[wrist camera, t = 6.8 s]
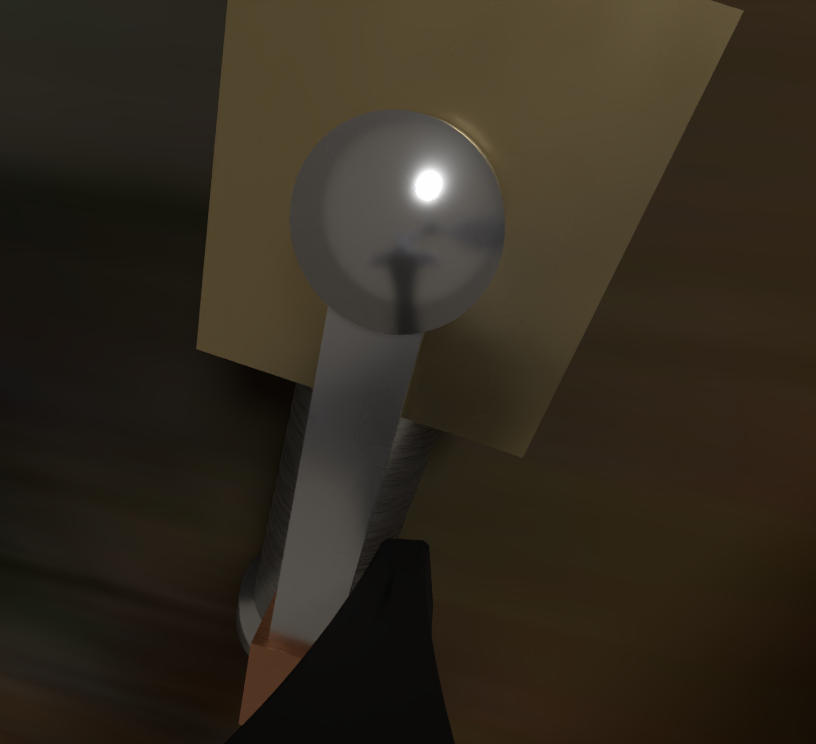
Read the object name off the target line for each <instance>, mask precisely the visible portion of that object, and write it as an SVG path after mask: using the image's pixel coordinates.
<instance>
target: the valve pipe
mask: <svg viewBox="0 0 816 744" xmlns="http://www.w3.org/2000/svg"><path fill="white" fill-rule="evenodd" d="M742 13H743V10H740V9H736V8H733V7H730V6H727V5H724V4H721V3H717V2H714V1H711V0H228V4H227V15H226V26H225V37H224V48H223V60H222V71H221V82H220V93H219V104H218V115H217V126H216V137H215V148H214V160H213V171H212V182H211V193H210V204H209V215H208V226H207V237H206V248H205V259H204V271H203V282H202V293H201V304H200V315H199V326H198V337H197V348H196V349H198V350H201V351H204V352H207V353H210V354H213V355H216V356H219V357H222V358H225V359H228V360H231V361H234V362H237V363H240V364H243V365H246V366H249V367H252V368H255V369H258V370H261V371H264V372H267V373H270V374H273V375H276V376H279V377H282V378H285V379H288V380H291V381H294V382H296V386H295V391H294V396H293V401H292V406H291V411H290V416H289V421H288V425H287V430H286V435H285V440H284V445H283V450H282V455H281V460H280V465H279V470H278V475H277V480H276V484H275V489H274V494H273V499H272V504H271V509H270V514H269V519H268V524H267V529H266V534H265V539H264V543H263V548H262V552H261V553H260V554H258V555H257V556H256V558H255V559H254V560H253V561H252V562H251V564H250V565H249V567H248V568H247V570H246V572H245V574H244V577H243V580H242V583H241V588H240V593H239V599H238V604H237V611H236V626H237V632H238V636H239V639H240V642H241V644H242V646H243V648H244V650H245V651H246V653H247V654H248V656H249V653H250V646H251V642H252V640H253V638H254V636H255V634H256V632H257V630H258V627H259V625H260V623H261V621H262V619H263V617H264V615H265V613H266V611H267V609H268V607H269V605H270V602H271V600H272V598H273V596H274V594H275V592H276V590H277V588H278V583H279V577H280V572H281V566H282V560H283V555H284V549H285V544H286V538H287V533H288V527H289V521H290V516H291V510H292V505H293V499H294V493H295V488H296V482H297V477H298V471H299V466H300V460H301V454H302V449H303V443H304V438H305V432H306V427H307V421H308V415H309V410H310V404H311V399H312V393H313V387H314V382H315V376H316V371H317V365H318V360H319V354H320V348H321V343H322V337H323V332H324V326H325V321H326V315H327V309H328V305H327V304H326V303H325V302H324V301H323V300H322V299H321V298H320V297H319V296H318V295H317V294H316V292H315V291H314V290H313V288H312V287H311V286H310V284H309V283H308V281H307V279H306V277H305V276H304V274H303V272H302V270H301V268H300V266H299V263H298V261H297V258H296V255H295V252H294V249H293V245H292V239H291V234H290V220H289V215H290V202H291V197H292V192H293V188H294V185H295V181H296V178H297V175H298V173H299V171H300V169H301V167H302V165H303V163H304V161H305V160H306V158H307V157H308V155H309V154H310V152H311V151H312V149H313V148H314V147H315V146H316V145H317V144H318V142H319V141H320V140H321V139H322V138H323V137H324V136H326V135H327V134H328V133H329V132H330V131H331V130H333V129H334V128H336V127H337V126H339V125H340V124H342V123H344V122H345V121H347V120H349V119H352V118H354V117H356V116H359V115H362V114H365V113H369V112H373V111H380V110H389V109H392V110H408V111H413V112H418V113H422V114H426V115H429V116H433V117H436V118H438V119H441V120H444V121H446V122H448V123H450V124H452V125H454V126H456V127H458V128H459V129H460V130H462V131H463V132H464V133H466V134H467V135H468V136H470V137H471V138H472V139H473V140H474V141H475V142H476V143H477V144H478V145H479V147H480V148H481V149H482V151H483V152H484V153H485V154H486V156H487V158H488V159H489V161H490V163H491V164H492V166H493V168H494V171H495V173H496V175H497V178H498V181H499V184H500V188H501V192H502V198H503V206H504V215H505V238H504V245H503V251H502V255H501V258H500V262H499V265H498V267H497V270H496V272H495V275H494V277H493V279H492V280H491V282H490V284H489V286H488V287H487V289H486V290H485V292H484V293H483V294H482V296H481V297H480V298H479V299H478V301H477V302H476V303H475V304H474V305H473V306H472V307H471V308H470V309H469V310H467V311H466V312H465V313H463V314H462V315H461V316H460V317H458V318H456V319H455V320H453V321H451V322H450V323H448V324H446V325H444V326H441V327H439V328H437V329H434V330H430V331H427V332H425V333H424V337H423V340H422V344H421V347H420V351H419V354H418V358H417V361H416V365H415V368H414V372H413V375H412V379H411V382H410V386H409V389H408V393H407V396H406V400H405V404H404V407H403V411H402V414H401V418H400V421H399V425H398V428H397V432H396V435H395V439H394V442H393V446H392V449H391V453H390V456H389V460H388V463H387V467H386V471H385V474H384V478H383V481H382V485H381V488H380V492H379V495H378V499H377V502H376V506H375V509H374V513H373V516H372V520H371V523H370V527H369V530H368V534H367V538H366V541H365V545H364V548H363V552H362V555H361V559H360V562H359V566H358V569H357V573H356V576H355V580H354V583H353V587H352V590H353V589H354V587H355V586H356V584H357V583H358V581H359V580H360V578H361V577H362V575H363V574H364V572H365V570H366V569H367V567H368V566H369V564H370V562H371V561H372V559H373V557H374V556H375V554H376V552H377V550H378V549H379V547H380V545H381V543H382V542H383V541H384V540H385V539H387V538H392V539H398V537H399V534H400V532H401V529H402V526H403V524H404V521H405V519H406V516H407V513H408V511H409V508H410V506H411V503H412V500H413V498H414V495H415V492H416V490H417V487H418V485H419V482H420V479H421V477H422V474H423V471H424V469H425V466H426V464H427V461H428V458H429V456H430V453H431V450H432V448H433V445H434V443H435V440H436V437H437V435H438V432H439V430H441V431H444V432H447V433H450V434H453V435H456V436H459V437H462V438H465V439H468V440H471V441H474V442H477V443H480V444H483V445H486V446H489V447H492V448H495V449H498V450H501V451H504V452H507V453H510V454H513V455H516V456H519V457H522V458H523V456H524V454H525V452H526V450H527V448H528V446H529V444H530V442H531V440H532V438H533V436H534V434H535V432H536V430H537V428H538V426H539V424H540V422H541V420H542V418H543V416H544V414H545V412H546V410H547V408H548V406H549V404H550V402H551V400H552V398H553V395H554V393H555V391H556V389H557V387H558V385H559V383H560V381H561V379H562V377H563V375H564V373H565V371H566V369H567V367H568V365H569V363H570V361H571V359H572V357H573V355H574V353H575V351H576V349H577V347H578V345H579V343H580V341H581V339H582V337H583V335H584V333H585V331H586V329H587V327H588V325H589V323H590V321H591V319H592V317H593V315H594V313H595V311H596V308H597V306H598V304H599V302H600V300H601V298H602V296H603V294H604V292H605V290H606V288H607V286H608V284H609V282H610V280H611V278H612V276H613V274H614V272H615V270H616V268H617V266H618V264H619V262H620V260H621V258H622V256H623V254H624V252H625V250H626V248H627V246H628V244H629V242H630V240H631V238H632V236H633V234H634V232H635V230H636V228H637V226H638V224H639V221H640V219H641V217H642V215H643V213H644V211H645V209H646V207H647V205H648V203H649V201H650V199H651V197H652V195H653V193H654V191H655V189H656V187H657V185H658V183H659V181H660V179H661V177H662V175H663V173H664V171H665V169H666V167H667V165H668V163H669V161H670V159H671V157H672V155H673V153H674V151H675V149H676V147H677V145H678V143H679V141H680V139H681V137H682V134H683V132H684V130H685V128H686V126H687V124H688V122H689V120H690V118H691V116H692V114H693V112H694V110H695V108H696V106H697V104H698V102H699V100H700V98H701V96H702V94H703V92H704V90H705V88H706V86H707V84H708V82H709V80H710V78H711V76H712V74H713V72H714V70H715V68H716V66H717V64H718V62H719V60H720V58H721V56H722V54H723V52H724V50H725V47H726V45H727V43H728V41H729V39H730V37H731V35H732V33H733V31H734V29H735V27H736V25H737V23H738V21H739V19H740V17H741V15H742ZM352 590H351V592H352Z"/></svg>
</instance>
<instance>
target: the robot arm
mask: <svg viewBox="0 0 816 744" xmlns="http://www.w3.org/2000/svg"><path fill="white" fill-rule="evenodd" d="M432 612H433V598H432V583H431V568H430V552H429V545H428V544H427V543H426V542H425V541H422V540H407V539H392V538H387V539H385V540H384V541H383V542H382V543H381V545H380V547H379V549H378V550H377V552H376V554H375V556H374V557H373V559H372V561H371V562H370V564H369V566H368V567H367V569H366V570H365V572H364V574H363V575H362V577H361V578H360V580H359V581H358V583H357V584H356V586H355V587H354V589H353V590H352V592H351V593H350V595H349V596H348V598H347V599H346V600H345V602H344V603H343V605H342V606H341V608H340V609H339V610H338V612H337V613H336V615H335V616H334V618H333V619H332V620H331V622H330V623H329V624H328V626H327V627H326V628H325V630H324V631H323V632H322V634H321V635H320V636H319V637H318V639H317V640H316V641H315V643H314V644H313V645H312V646H311V648H310V649H309V650H308V651H307V653H306V654H305V655H304V657H303V658H302V659H301V660H300V662H299V663H298V664H297V665H296V666H295V668H294V669H293V670H292V671H291V672H290V674H289V675H288V676H287V677H286V678H285V679H284V681H283V682H282V683H281V684H280V685H279V686H278V687H277V688H276V690H275V691H274V692H273V693H272V694H271V695H270V696H269V697H268V698H267V700H266V701H265V702H264V703H263V704H262V705H261V706H260V707H259V708H258V709H257V710H256V711H255V713H254V714H253V715H252V716H251V717H250V718H249V719H248V720H247V721H246V722H245V723H244V724H243V725H242V726H241V727H240V728H239V729H238V730H237V731H236V732H235V733H234V734H233V735H232V736H231V737H230V738H229V739H228V740H227V741H226V742H225V743H224V744H455V743H454V739H453V735H452V731H451V727H450V723H449V719H448V715H447V711H446V707H445V703H444V699H443V694H442V690H441V685H440V680H439V675H438V670H437V665H436V660H435V655H434V649H433V643H432V637H431V636H432Z"/></svg>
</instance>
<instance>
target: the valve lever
mask: <svg viewBox="0 0 816 744" xmlns="http://www.w3.org/2000/svg"><path fill="white" fill-rule="evenodd" d="M289 220H290V234H291V239H292V245H293V249H294V252H295V255H296V258H297V261H298V263H299V266H300V268H301V270H302V272H303V274H304V276H305V277H306V279H307V281H308V283H309V284H310V286H311V287H312V288H313V290H314V291H315V292H316V294H317V295H318V296H319V297H320V298H321V299H322V300H323V301H324V302H325V303H326V304H327V305H328V309H327V315H326V321H325V326H324V332H323V337H322V343H321V348H320V354H319V360H318V365H317V371H316V376H315V382H314V387H313V393H312V399H311V404H310V410H309V415H308V421H307V427H306V432H305V438H304V443H303V449H302V454H301V460H300V466H299V471H298V477H297V482H296V488H295V493H294V499H293V505H292V510H291V516H290V521H289V527H288V533H287V538H286V544H285V549H284V555H283V560H282V566H281V572H280V577H279V583H278V588H277V590H276V592H275V594H274V596H273V598H272V600H271V602H270V605H269V607H268V609H267V611H266V613H265V615H264V617H263V619H262V621H261V623H260V625H259V627H258V630H257V632H256V634H255V636H254V638H253V640H252V642H251V646H250V653H249V659H248V666H247V672H246V679H245V685H244V692H243V698H242V705H241V711H240V718H239V725H243V724H244V723H245V722H246V721H247V720H248V719H249V718H250V717H251V716H252V715H253V714H254V713H255V711H256V710H257V709H258V708H259V707H260V706H261V705H262V704H263V703H264V702H265V701H266V700H267V698H268V697H269V696H270V695H271V694H272V693H273V692H274V691H275V690H276V688H277V687H278V686H279V685H280V684H281V683H282V682H283V681H284V679H285V678H286V677H287V676H288V675H289V674H290V672H291V671H292V670H293V669H294V668H295V666H296V665H297V664H298V663H299V662H300V660H301V659H302V658H303V657H304V655H305V654H306V653H307V651H308V650H309V649H310V648H311V646H312V645H313V644H314V643H315V641H316V640H317V639H318V637H319V636H320V635H321V634H322V632H323V631H324V630H325V628H326V627H327V626H328V624H329V623H330V622H331V620H332V619H333V618H334V616H335V615H336V613H337V612H338V610H339V609H340V608H341V606H342V605H343V603H344V602H345V600H346V599H347V598H348V596H349V595H350V593H351V590H352V587H353V583H354V580H355V576H356V573H357V569H358V566H359V562H360V559H361V555H362V552H363V548H364V545H365V541H366V538H367V534H368V530H369V527H370V523H371V520H372V516H373V513H374V509H375V506H376V502H377V499H378V495H379V492H380V488H381V485H382V481H383V478H384V474H385V471H386V467H387V463H388V460H389V456H390V453H391V449H392V446H393V442H394V439H395V435H396V432H397V428H398V425H399V421H400V418H401V414H402V411H403V407H404V404H405V400H406V396H407V393H408V389H409V386H410V382H411V379H412V375H413V372H414V368H415V365H416V361H417V358H418V354H419V351H420V347H421V344H422V340H423V337H424V333H425V332H427V331H430V330H434V329H437V328H439V327H441V326H444V325H446V324H448V323H450V322H451V321H453V320H455V319H456V318H458V317H460V316H461V315H462V314H463V313H465V312H466V311H467V310H469V309H470V308H471V307H472V306H473V305H474V304H475V303H476V302H477V301H478V299H479V298H480V297H481V296H482V294H483V293H484V292H485V290H486V289H487V287H488V286H489V284H490V282H491V280H492V279H493V277H494V275H495V272H496V270H497V267H498V265H499V262H500V258H501V255H502V251H503V245H504V238H505V215H504V206H503V198H502V192H501V188H500V184H499V181H498V178H497V175H496V173H495V171H494V168H493V166H492V164H491V163H490V161H489V159H488V158H487V156H486V154H485V153H484V152H483V151H482V149H481V148H480V147H479V145H478V144H477V143H476V142H475V141H474V140H473V139H472V138H471V137H470V136H468V135H467V134H466V133H464V132H463V131H462V130H460V129H459V128H458V127H456V126H454V125H452V124H450V123H448V122H446V121H444V120H441V119H438V118H436V117H433V116H429V115H426V114H422V113H418V112H413V111H408V110H392V109H389V110H380V111H373V112H369V113H365V114H362V115H359V116H356V117H354V118H352V119H349V120H347V121H345V122H344V123H342V124H340V125H339V126H337V127H336V128H334V129H333V130H331V131H330V132H329V133H328V134H327V135H326V136H324V137H323V138H322V139H321V140H320V141H319V142H318V144H317V145H316V146H315V147H314V148H313V149H312V151H311V152H310V154H309V155H308V157H307V158H306V160H305V161H304V163H303V165H302V167H301V169H300V171H299V173H298V175H297V178H296V181H295V185H294V188H293V192H292V197H291V202H290V215H289Z"/></svg>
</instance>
